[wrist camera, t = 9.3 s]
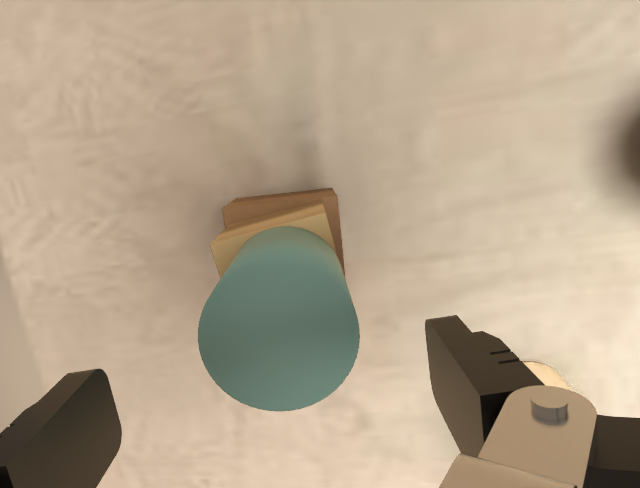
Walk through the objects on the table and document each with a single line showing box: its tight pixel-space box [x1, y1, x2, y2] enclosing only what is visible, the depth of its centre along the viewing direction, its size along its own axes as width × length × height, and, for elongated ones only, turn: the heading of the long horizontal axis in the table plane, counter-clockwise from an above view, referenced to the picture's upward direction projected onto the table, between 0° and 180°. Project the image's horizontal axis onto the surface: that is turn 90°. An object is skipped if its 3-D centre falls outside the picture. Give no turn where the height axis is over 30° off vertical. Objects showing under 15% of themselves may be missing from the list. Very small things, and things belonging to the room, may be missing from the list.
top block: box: [210, 199, 338, 278], centre depth 22 cm, size 5×5×5 cm
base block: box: [222, 188, 345, 277], centre depth 27 cm, size 6×6×5 cm
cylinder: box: [198, 226, 360, 411], centre depth 17 cm, size 5×5×6 cm
